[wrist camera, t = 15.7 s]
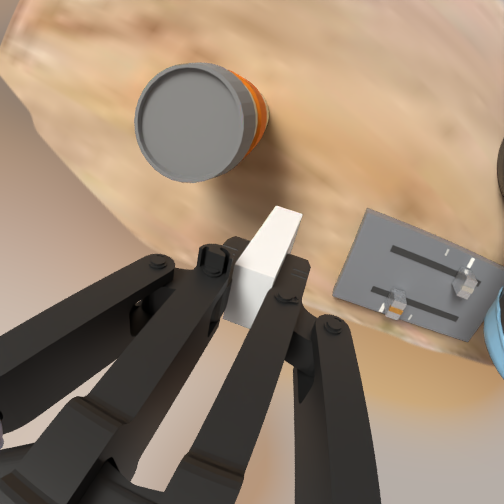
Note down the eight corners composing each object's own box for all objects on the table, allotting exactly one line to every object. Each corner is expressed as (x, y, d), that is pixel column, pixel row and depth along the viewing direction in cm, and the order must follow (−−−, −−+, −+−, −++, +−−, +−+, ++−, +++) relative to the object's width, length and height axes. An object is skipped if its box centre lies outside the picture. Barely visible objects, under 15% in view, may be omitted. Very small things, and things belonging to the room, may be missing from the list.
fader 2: (471, 271, 38) (478, 283, 35) (462, 287, 39) (467, 300, 36) (461, 266, 38) (467, 278, 35) (451, 283, 39) (456, 296, 37)
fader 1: (404, 291, 42) (407, 305, 40) (395, 307, 44) (397, 321, 41) (392, 287, 43) (394, 300, 40) (384, 303, 44) (385, 316, 41)
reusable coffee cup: (301, 109, 38) (275, 113, 25) (244, 175, 45) (197, 210, 32) (230, 53, 37) (174, 37, 24) (180, 121, 44) (115, 136, 31)
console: (507, 268, 37) (512, 275, 36) (465, 334, 45) (467, 342, 43) (367, 207, 41) (367, 212, 40) (333, 288, 48) (332, 296, 47)
